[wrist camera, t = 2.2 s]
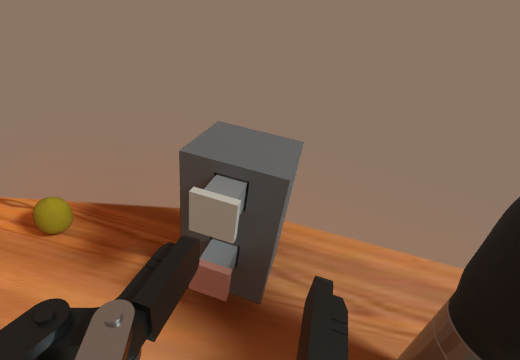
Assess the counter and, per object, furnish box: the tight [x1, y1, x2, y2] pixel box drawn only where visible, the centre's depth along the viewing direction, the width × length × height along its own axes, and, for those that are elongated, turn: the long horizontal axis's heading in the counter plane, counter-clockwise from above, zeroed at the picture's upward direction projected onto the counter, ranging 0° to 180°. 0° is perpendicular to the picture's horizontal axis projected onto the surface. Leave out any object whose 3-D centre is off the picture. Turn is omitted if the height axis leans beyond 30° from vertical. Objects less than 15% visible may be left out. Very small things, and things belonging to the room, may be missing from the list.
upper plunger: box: [189, 173, 249, 244], centre depth 33 cm, size 9×6×6 cm, turn 164°
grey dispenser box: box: [179, 121, 304, 304], centre depth 43 cm, size 12×14×24 cm
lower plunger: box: [189, 238, 240, 302], centre depth 39 cm, size 9×6×6 cm, turn 164°
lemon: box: [33, 197, 73, 234], centre depth 48 cm, size 6×6×8 cm
